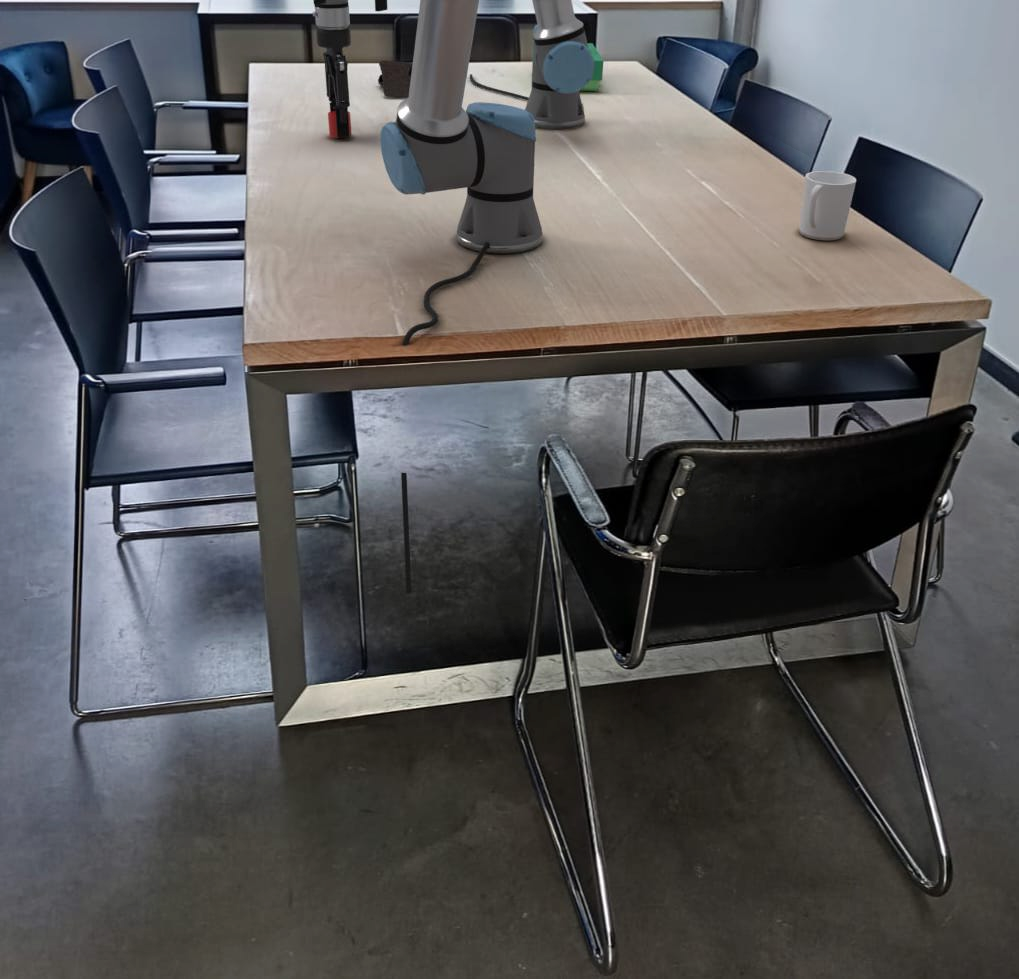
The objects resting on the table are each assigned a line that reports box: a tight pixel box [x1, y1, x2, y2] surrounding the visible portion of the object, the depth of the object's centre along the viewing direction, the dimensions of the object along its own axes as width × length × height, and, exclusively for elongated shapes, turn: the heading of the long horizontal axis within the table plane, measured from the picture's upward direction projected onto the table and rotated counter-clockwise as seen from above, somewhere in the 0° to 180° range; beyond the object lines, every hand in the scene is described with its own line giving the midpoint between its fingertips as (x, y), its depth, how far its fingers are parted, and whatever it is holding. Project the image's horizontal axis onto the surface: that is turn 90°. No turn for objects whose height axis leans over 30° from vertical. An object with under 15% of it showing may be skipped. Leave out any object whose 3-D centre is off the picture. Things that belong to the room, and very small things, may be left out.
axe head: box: [377, 59, 413, 99], centre depth 299 cm, size 18×8×15 cm
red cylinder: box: [327, 111, 352, 139], centre depth 254 cm, size 5×5×5 cm
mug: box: [798, 170, 857, 241], centre depth 199 cm, size 11×9×10 cm
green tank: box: [531, 42, 604, 92], centre depth 314 cm, size 18×12×35 cm
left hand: (350, 7), depth 197 cm, fingers open, 13 cm apart
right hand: (340, 133), depth 255 cm, fingers closed on red cylinder, 5 cm apart
